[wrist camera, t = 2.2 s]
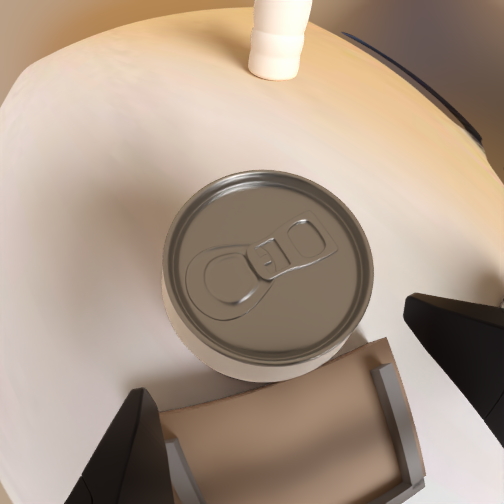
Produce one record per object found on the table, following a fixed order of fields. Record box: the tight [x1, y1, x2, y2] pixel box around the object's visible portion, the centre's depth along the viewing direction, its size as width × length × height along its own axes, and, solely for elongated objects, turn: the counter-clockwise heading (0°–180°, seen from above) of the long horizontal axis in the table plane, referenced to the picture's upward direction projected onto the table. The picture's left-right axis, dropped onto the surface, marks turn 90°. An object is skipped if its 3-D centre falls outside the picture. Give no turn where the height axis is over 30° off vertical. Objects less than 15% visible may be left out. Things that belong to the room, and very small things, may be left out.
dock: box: [159, 337, 426, 504], centre depth 12 cm, size 12×16×4 cm
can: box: [162, 170, 374, 382], centre depth 12 cm, size 6×6×12 cm
